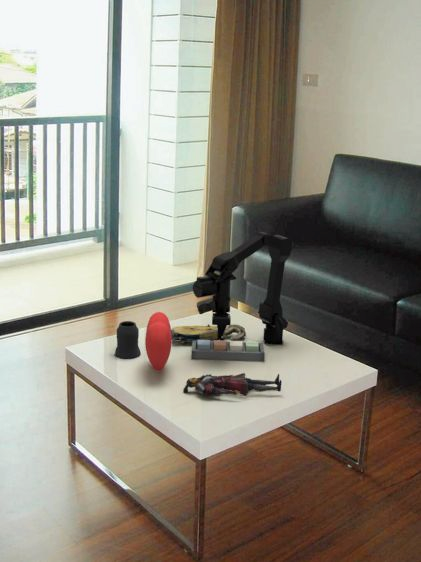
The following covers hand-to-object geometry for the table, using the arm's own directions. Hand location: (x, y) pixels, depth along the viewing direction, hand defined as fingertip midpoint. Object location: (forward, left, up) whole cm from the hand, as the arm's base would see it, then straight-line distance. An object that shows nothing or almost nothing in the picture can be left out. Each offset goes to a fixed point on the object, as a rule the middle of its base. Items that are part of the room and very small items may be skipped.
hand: (220, 335), depth 257 cm
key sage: (-11, 0, -5) cm, 12 cm away
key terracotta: (0, 0, -5) cm, 5 cm away
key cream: (-5, 0, -5) cm, 7 cm away
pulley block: (+5, -14, -8) cm, 17 cm away
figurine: (-4, +30, -7) cm, 31 cm away
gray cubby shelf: (-3, 0, -7) cm, 8 cm away
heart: (+20, +16, -7) cm, 27 cm away
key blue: (+6, 0, -5) cm, 8 cm away
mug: (+32, +1, -7) cm, 33 cm away
